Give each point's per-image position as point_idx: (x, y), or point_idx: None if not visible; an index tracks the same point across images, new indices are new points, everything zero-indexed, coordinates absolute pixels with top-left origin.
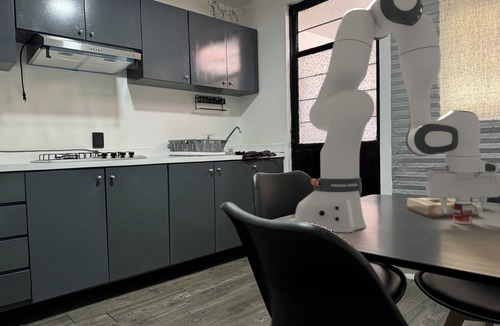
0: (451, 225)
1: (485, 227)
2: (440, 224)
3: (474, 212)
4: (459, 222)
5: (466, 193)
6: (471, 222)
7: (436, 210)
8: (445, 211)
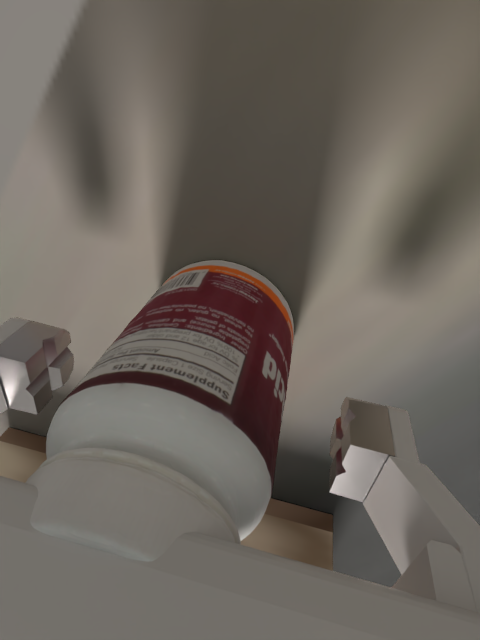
0: (410, 265)
1: (150, 93)
2: (472, 327)
3: (15, 453)
4: (284, 299)
5: (59, 593)
6: (181, 269)
7: (264, 543)
8: (406, 429)
